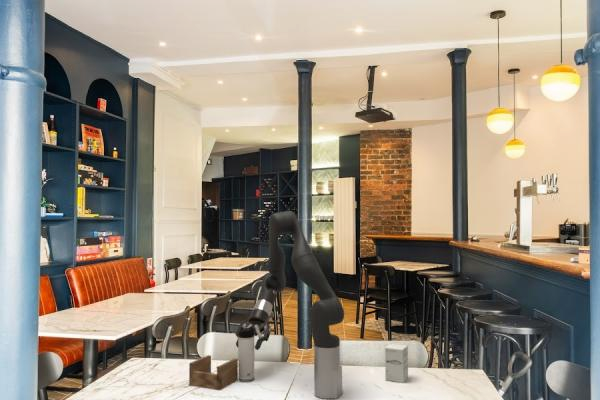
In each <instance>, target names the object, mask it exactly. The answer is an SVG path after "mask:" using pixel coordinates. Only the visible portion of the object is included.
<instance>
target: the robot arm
mask: <svg viewBox="0 0 600 400" xmlns="http://www.w3.org/2000/svg"><path fill="white" fill-rule="evenodd" d="M299 221H300V220H299V219H298V217H297V216H296V214H295V212H293V211H291V210H287V211H286V210H285V211H280V212H275V213H272V214H271V215H270V216H269V220H268V242H269V256H268V257H269V258H268V265H267V271H268V272H267V273H265V274H264V275H263V277H262V281H261V288H260V289H261V290H260V294H259V297H258V299H257V301H256V302H255V304H254V307H253V310H252V311H251V313H250V316H249V318H248V321H247V323H244V322H240V324H239V326H238V328H237V329H236V331H235V336H236V338H237V340H236V342H235V346H236V348H238V339H239V338H238V337H239V331H240V330H241V329H245V328H255V330H254V337H258V339H257V340H256V342H255V344H254V350H256V351H259V350H260V349H261V347H262V345H263V342H268V341H269V338H270V336H271V332H272V328H271V327H272V326H271V325H270V324H268V322H269V319H270V316H271V315H272V309H273V307H274V304H275V302H276V299H277V296H276V293H281V292H283V291H284V290H285V288H286V286H287V280H286V275H285V266H286V254H285V251H284V249H283V247H282V246H281V245H280V242H279V237H280V236H282V235H288V234H290V235H291V237H292V239H293V248H292V253H291V260H290V261H291V265H292V267H293V270H294V271H295V273H296V276H297V277H298V279H300V281H301V282H302V283H304V284H305V285H306V286H307V287H309V289H311V290H312V291H313V292H314V293H315V294H316V296H317V297H318V299H319V300H316V301H314V302H313V304H312V305H311V309H310V323H311V324H310V326H311V335H312V340H313V366H314V367H313V376H314V377H313V380H314V382H313V383H314V385H313V389H314V396H316V398H320V399H326V400H327V399H330V400H331V399H338V398H339V397H340V396H341V395H342V394H343V366H342V365H341V354H340V352H341V348H340V347H341V346H340V345H341V344H340V342H341V341H340V337H339V336H338V335H336V334H332V333H331V331H330V326H334V325H338V324H341V323H342V322H343V321H344V319H345V311H344V307H343V305H342V302H341V301H340V299H339V297H338V296H337V294H336V293H335V291H334V290H333V288H332V287H331V286H330V283H329V281H328V280H327V278H326V276H325V274H324V273H323V270H322V268H321V267H320V264H319V262H318V260H317V259H316V256H315V255H314V253H313V250H312V249H311V247H310V245H309V242H308V241H307V239H306V237H305V235H304V231H303V229H302V226H301V224H300V222H299ZM274 292H276V293H274ZM263 332H264V333H263ZM262 333H263V334H262Z"/></svg>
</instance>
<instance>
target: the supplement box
mask: <svg viewBox="0 0 600 400" xmlns="http://www.w3.org/2000/svg"><path fill="white" fill-rule="evenodd" d="M384 348H385V349H384V355H385V356H384V359H385V360H384V361H385V363H384V365H385V366H384V367H385V378H384V379H385V381H390V382H397V383H402V384H404V383H405V382H406V381H407V379H409V357H408V356H409V354H408V353H409V350H408V349H409V346H408V345H404V344H396V343H389V344H388V345H386V346H385V347H384Z"/></svg>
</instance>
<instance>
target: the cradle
mask: <svg viewBox="0 0 600 400" xmlns="http://www.w3.org/2000/svg"><path fill="white" fill-rule="evenodd" d="M188 367H189V368H188V371H189V374H188V375H189V381H188V383H189V385H188V386H191V387H192V386H194V387H198V388H205V389H212V390H217V391H222V389H225V388H227V387H228V386H230V385H232V384H234V383H235V382H238V381H239V370H238V358H232V359H230V360H229V361H227V362H224V363H222V364H220V365H218V366H216V373H212V355H210V354H209V355H205V356H203V357H201V358H198V359H196V360H194V361H191V362H189V366H188Z"/></svg>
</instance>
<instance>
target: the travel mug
mask: <svg viewBox="0 0 600 400" xmlns="http://www.w3.org/2000/svg"><path fill="white" fill-rule="evenodd" d="M254 330H255V328H245V329H241V330H240V331H239V337H238V338H239V339H238V338H237V339H238V347H237V348H238V352H237V353H238V358H237V359H238V381H239V382H242V383H249V382H253V381H255V336H254Z"/></svg>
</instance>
